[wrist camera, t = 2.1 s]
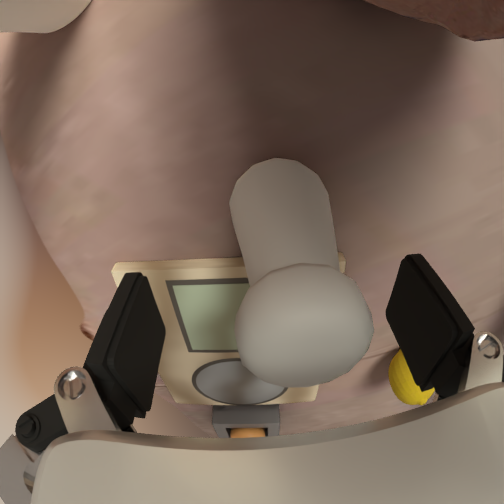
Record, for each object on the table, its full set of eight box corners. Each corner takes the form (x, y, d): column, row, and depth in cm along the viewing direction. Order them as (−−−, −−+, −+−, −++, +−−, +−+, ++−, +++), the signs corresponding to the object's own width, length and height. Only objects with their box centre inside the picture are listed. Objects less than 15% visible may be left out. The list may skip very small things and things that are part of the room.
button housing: (278, 403, 35) (280, 422, 32) (277, 425, 39) (278, 441, 37) (213, 404, 35) (211, 423, 32) (222, 426, 40) (221, 442, 37)
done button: (264, 423, 34) (265, 439, 32) (265, 434, 37) (265, 448, 34) (228, 424, 34) (228, 439, 32) (232, 435, 37) (232, 449, 35)
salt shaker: (332, 206, 19) (414, 367, 8) (262, 243, 21) (272, 419, 10) (292, 132, 16) (377, 245, 5) (214, 179, 18) (163, 345, 7)
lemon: (422, 349, 29) (443, 401, 22) (383, 366, 30) (399, 421, 24) (422, 325, 26) (449, 383, 20) (378, 344, 28) (399, 406, 21)
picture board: (341, 252, 21) (346, 261, 20) (313, 393, 33) (314, 401, 32) (116, 262, 21) (110, 271, 20) (177, 395, 33) (176, 403, 32)
